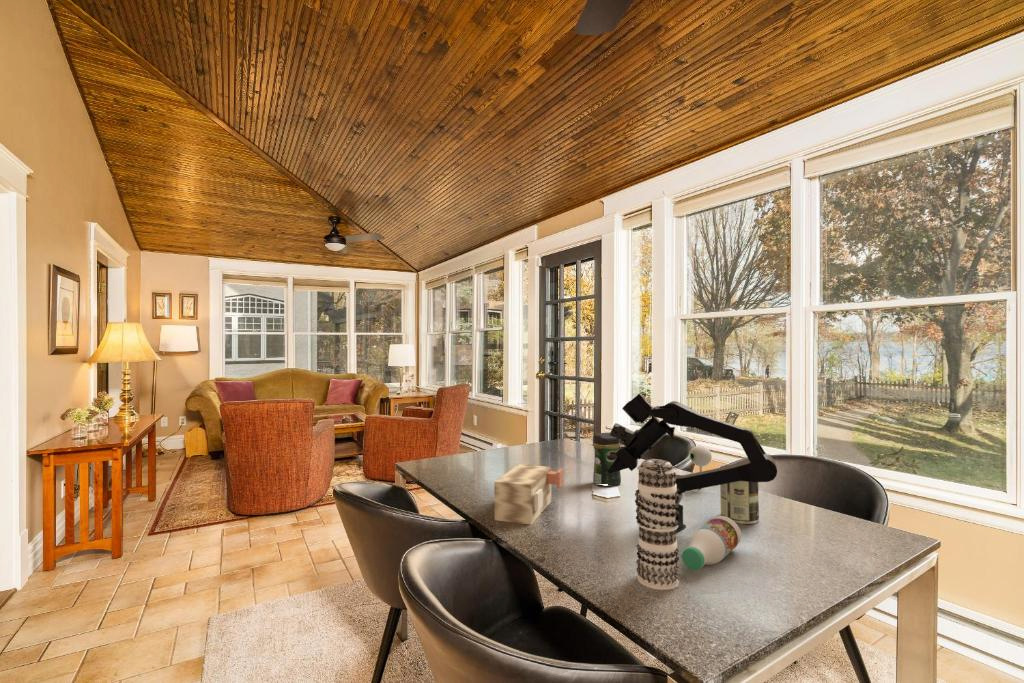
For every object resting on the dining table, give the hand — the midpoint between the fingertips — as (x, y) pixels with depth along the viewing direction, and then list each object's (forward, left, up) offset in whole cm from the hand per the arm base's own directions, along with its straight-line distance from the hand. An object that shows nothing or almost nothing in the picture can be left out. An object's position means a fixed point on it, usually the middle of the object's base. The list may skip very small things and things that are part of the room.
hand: (608, 472), depth 137 cm
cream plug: (+19, +17, -10) cm, 27 cm away
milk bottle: (-31, -4, -10) cm, 33 cm away
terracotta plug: (+23, +2, -7) cm, 24 cm away
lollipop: (-6, -49, -14) cm, 51 cm away
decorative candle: (-27, +23, -14) cm, 39 cm away
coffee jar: (+21, -31, -14) cm, 39 cm away
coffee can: (-26, -28, -14) cm, 41 cm away
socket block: (+23, +11, -14) cm, 29 cm away
